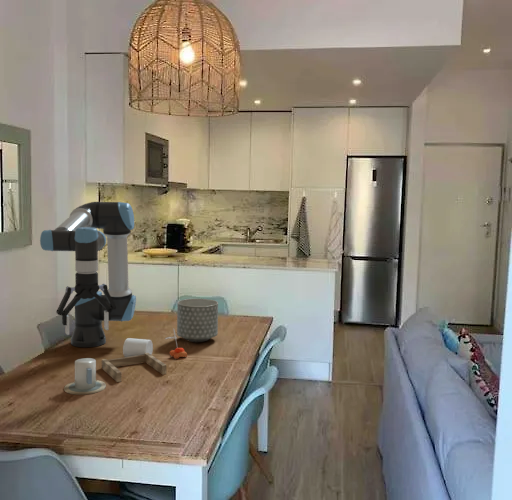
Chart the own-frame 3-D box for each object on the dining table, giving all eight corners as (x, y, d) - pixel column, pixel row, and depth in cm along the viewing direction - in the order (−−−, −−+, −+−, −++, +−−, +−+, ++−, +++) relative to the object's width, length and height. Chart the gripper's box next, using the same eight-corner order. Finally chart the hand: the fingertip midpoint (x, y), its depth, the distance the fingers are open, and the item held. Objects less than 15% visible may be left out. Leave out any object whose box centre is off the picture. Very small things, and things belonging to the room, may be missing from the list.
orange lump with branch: (166, 354, 230) (166, 327, 229) (188, 355, 230) (188, 328, 229) (163, 358, 224) (163, 330, 223) (186, 359, 224) (186, 331, 223)
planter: (169, 342, 249) (169, 303, 247) (189, 333, 267) (189, 297, 265) (205, 347, 242) (206, 308, 240) (224, 337, 260) (224, 300, 258)
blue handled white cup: (92, 381, 193) (92, 357, 192) (100, 389, 186) (100, 364, 185) (72, 384, 190) (72, 359, 189) (79, 392, 182) (79, 367, 181)
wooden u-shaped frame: (101, 368, 210) (101, 359, 210) (148, 361, 220) (148, 352, 220) (117, 382, 195) (117, 372, 194) (166, 373, 205) (166, 364, 205)
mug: (145, 361, 220) (145, 342, 219) (122, 359, 222) (122, 340, 221) (156, 353, 231) (156, 335, 231) (134, 351, 233) (135, 333, 233)
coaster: (59, 384, 191) (59, 383, 190) (99, 378, 198) (99, 377, 198) (69, 397, 179) (69, 396, 179) (111, 390, 186) (111, 389, 186)
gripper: (118, 268, 197) (118, 325, 199) (46, 272, 183) (47, 333, 186) (125, 271, 191) (125, 329, 193) (51, 275, 177) (52, 338, 179)
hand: (87, 331), depth 189 cm, fingers open, 13 cm apart
